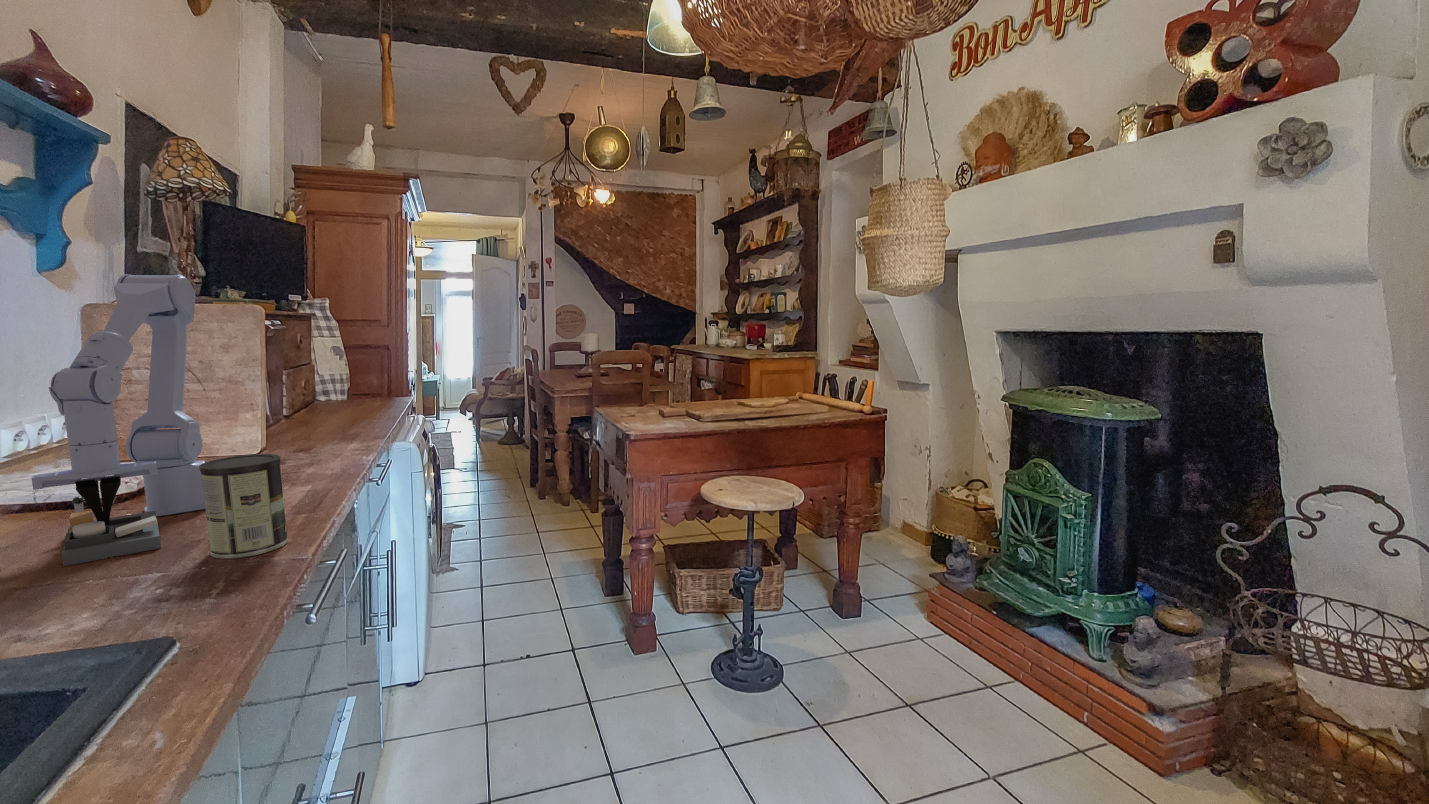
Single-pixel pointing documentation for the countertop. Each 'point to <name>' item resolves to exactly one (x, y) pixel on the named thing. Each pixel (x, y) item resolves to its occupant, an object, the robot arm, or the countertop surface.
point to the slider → (80, 518)
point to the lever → (78, 504)
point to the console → (111, 541)
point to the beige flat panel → (136, 526)
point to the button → (89, 529)
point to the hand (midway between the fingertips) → (104, 524)
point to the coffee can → (244, 505)
